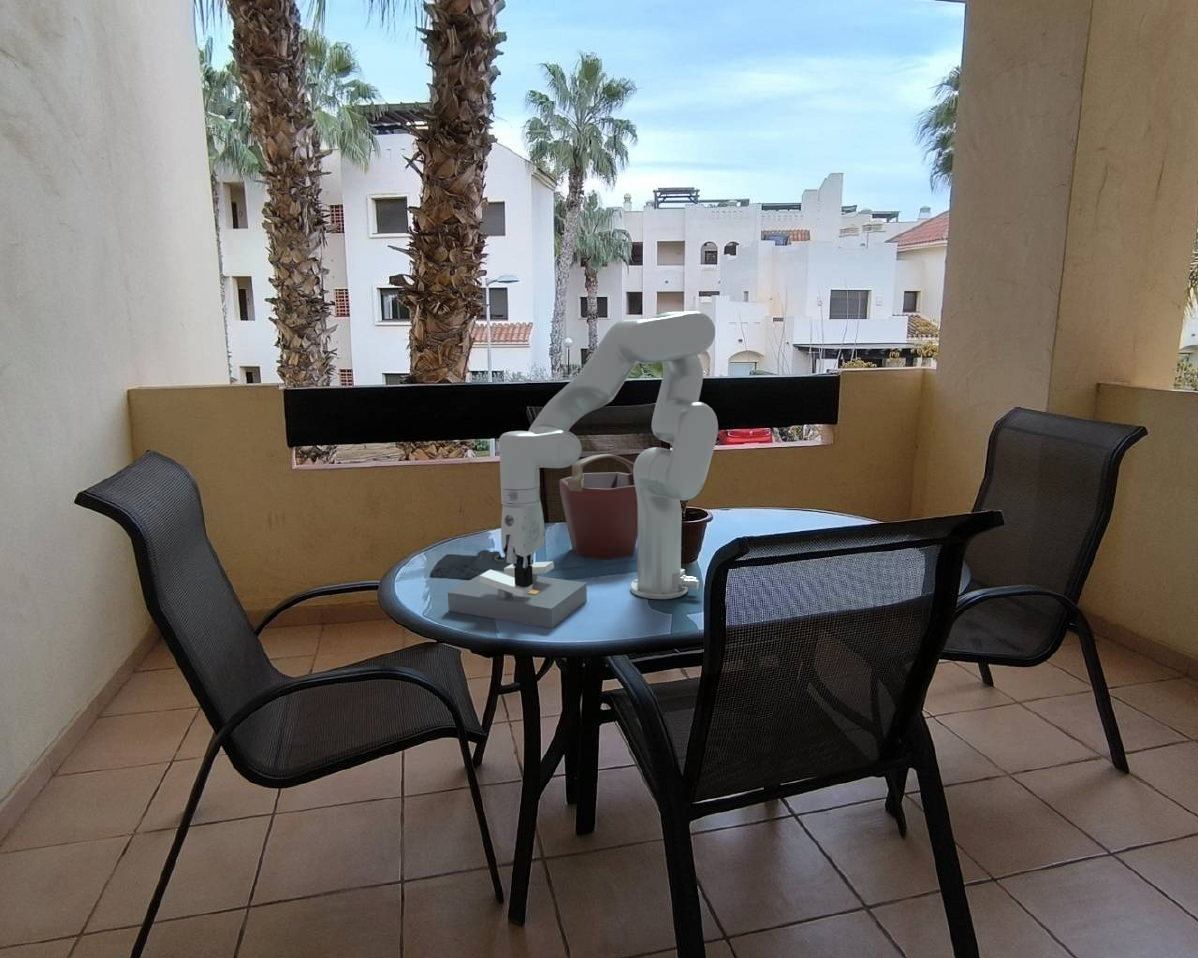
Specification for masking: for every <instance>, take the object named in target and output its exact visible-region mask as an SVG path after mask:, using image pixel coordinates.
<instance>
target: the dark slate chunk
mask: <svg viewBox="0 0 1198 958" xmlns="http://www.w3.org/2000/svg"><path fill="white" fill-rule="evenodd" d="M511 564H512V563H507V555H505V554H504V556H502V554H501V552H500V551H498V550H495V551H490V550H486V549H485V550H484V549H483V550H480V551H479V552H477V555H471V554H469V555H468V554H463V555H462V554H454V553H453V554H452V553H447V554H445V555H444V556H443V557H441V559H439V560H438V562H437V563H436V564H435V566H433V568H432V570H430V574H429V578H432V579H448V580H457V581H458V580H462V581H469V580H471V579H473V578H475V577H477V576H478V575H480V574H482V573H484V572H486V571H488V570H489V569H490V570H497V571H504V568H506V567H507V566H509V565H511Z"/></svg>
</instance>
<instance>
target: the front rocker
mask: <svg viewBox="0 0 1198 958" xmlns="http://www.w3.org/2000/svg"><path fill="white" fill-rule="evenodd" d="M479 582H481V583H484V584H487V585H490V586H493V587H496V588H499V589H502V590H504V591H507V592H510V593H513V594H516V595H519V596H524V595H525V594H527V593H528V592H530V591H531V590H532V586H533V584H532V585H530V586H529V587H523V586H516V585H515V578H514V577H511V576H508V575H505V574H502V573H499V572H496V571H493V570H489V571H487V572H485V573H483V574H482V575H480V579H479Z"/></svg>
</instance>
